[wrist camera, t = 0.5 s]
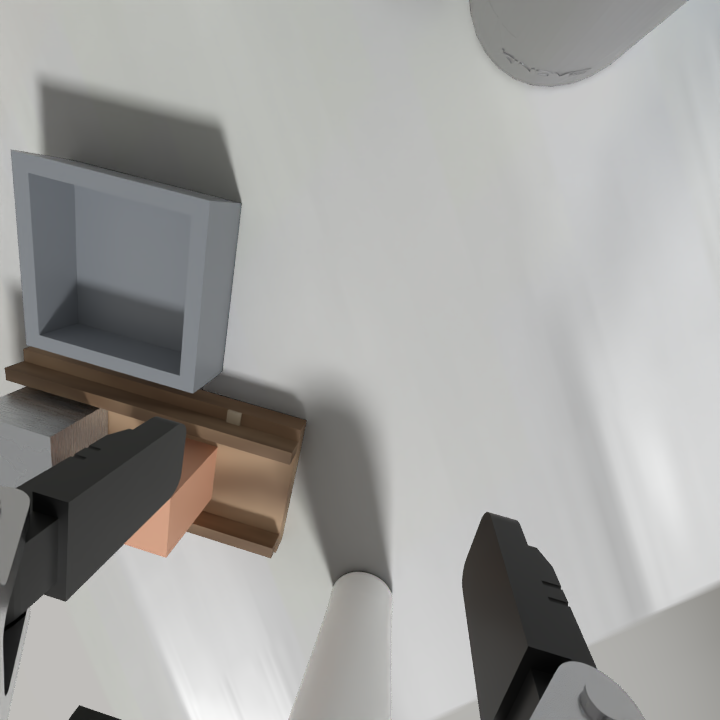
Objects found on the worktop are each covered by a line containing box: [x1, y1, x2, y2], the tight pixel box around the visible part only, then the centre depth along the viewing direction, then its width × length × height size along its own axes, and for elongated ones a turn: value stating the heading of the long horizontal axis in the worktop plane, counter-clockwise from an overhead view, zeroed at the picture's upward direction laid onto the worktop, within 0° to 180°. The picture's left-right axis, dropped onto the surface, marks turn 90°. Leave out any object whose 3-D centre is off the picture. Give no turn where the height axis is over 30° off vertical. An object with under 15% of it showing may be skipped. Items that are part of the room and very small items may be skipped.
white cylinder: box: [288, 572, 393, 720], centre depth 28 cm, size 7×7×15 cm
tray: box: [11, 150, 242, 393], centre depth 26 cm, size 12×12×4 cm
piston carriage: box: [0, 386, 108, 488], centre depth 29 cm, size 7×6×5 cm
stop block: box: [124, 438, 218, 557], centre depth 28 cm, size 5×4×6 cm
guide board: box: [5, 346, 307, 558], centre depth 31 cm, size 12×22×3 cm, turn 77°
